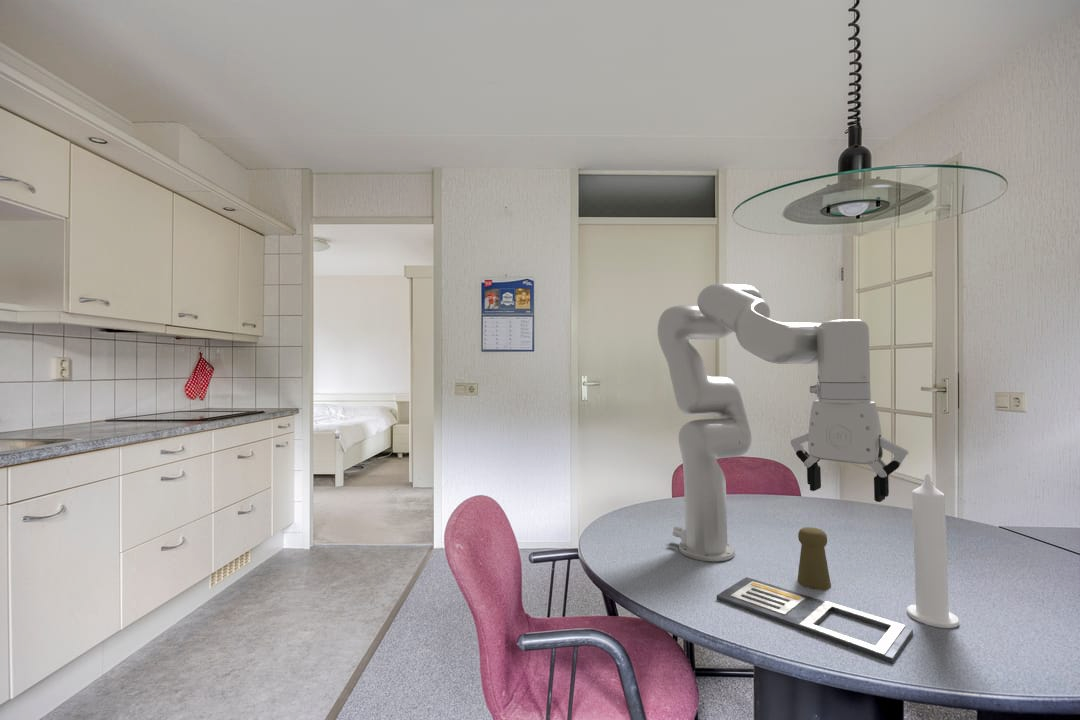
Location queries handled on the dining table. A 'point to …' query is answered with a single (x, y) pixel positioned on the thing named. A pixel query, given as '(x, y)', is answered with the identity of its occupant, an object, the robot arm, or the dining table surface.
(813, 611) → the panel
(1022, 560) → the dining table surface
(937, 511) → the candle
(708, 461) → the robot arm
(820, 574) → the cork
